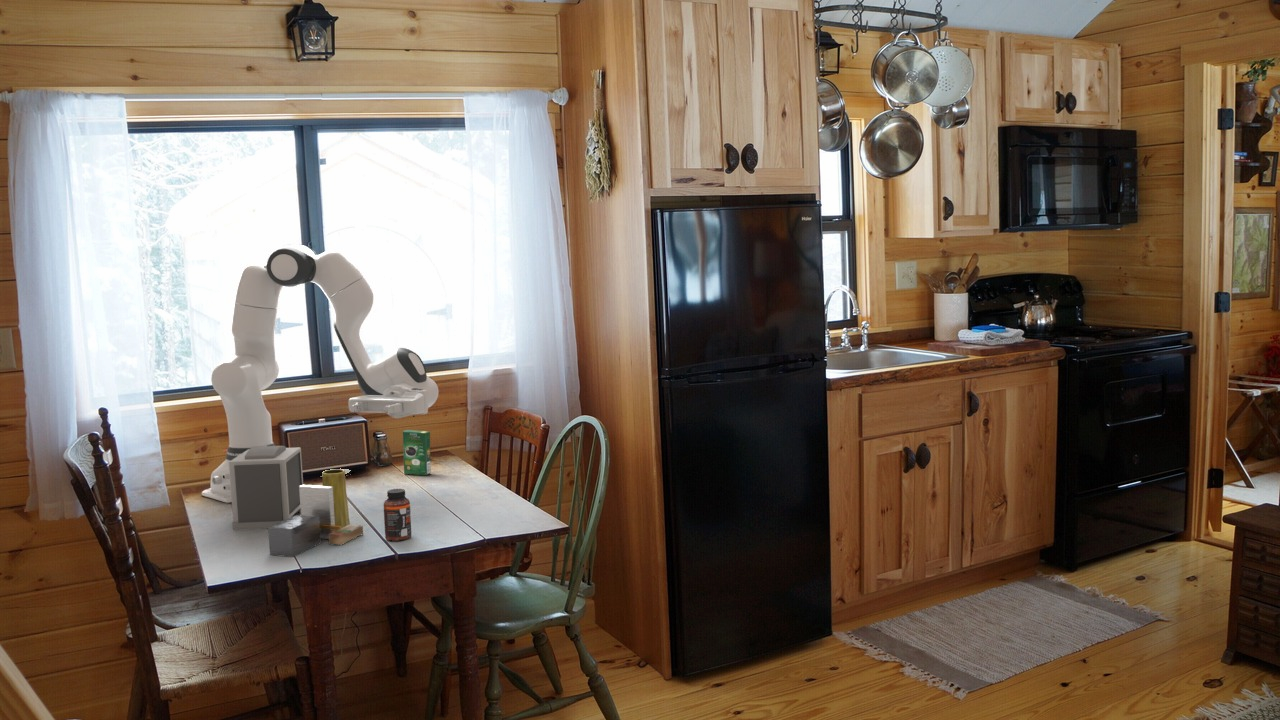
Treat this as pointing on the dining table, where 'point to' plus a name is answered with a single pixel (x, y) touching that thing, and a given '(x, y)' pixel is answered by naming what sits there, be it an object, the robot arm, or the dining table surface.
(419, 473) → the coffee box
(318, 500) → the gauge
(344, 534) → the rail
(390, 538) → the supplement bottle
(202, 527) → the dining table surface
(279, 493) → the grey box
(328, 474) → the vase
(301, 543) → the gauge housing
